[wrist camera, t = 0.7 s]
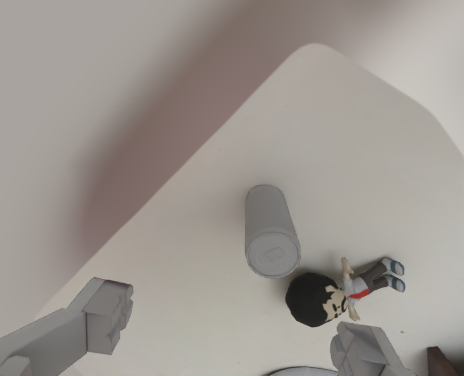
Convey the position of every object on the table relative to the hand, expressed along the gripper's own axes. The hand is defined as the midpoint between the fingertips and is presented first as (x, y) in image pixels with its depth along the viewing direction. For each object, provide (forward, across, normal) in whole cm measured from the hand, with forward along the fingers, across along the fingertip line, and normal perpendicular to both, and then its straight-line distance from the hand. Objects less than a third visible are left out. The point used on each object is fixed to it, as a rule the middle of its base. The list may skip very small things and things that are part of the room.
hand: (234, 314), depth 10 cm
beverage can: (+23, -4, +4) cm, 24 cm away
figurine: (+23, -16, +14) cm, 31 cm away
